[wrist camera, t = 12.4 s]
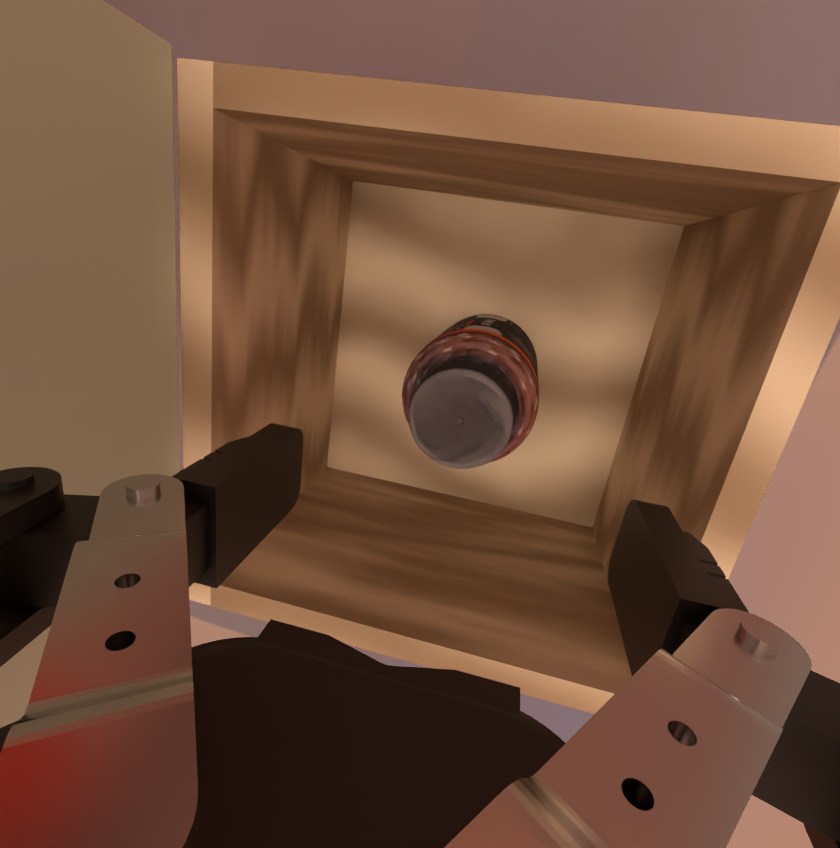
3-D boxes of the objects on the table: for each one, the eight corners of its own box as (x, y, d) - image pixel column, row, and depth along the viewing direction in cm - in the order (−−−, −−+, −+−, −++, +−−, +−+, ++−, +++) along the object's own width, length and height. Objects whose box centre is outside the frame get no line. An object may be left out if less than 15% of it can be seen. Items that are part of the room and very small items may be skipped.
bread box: (341, 158, 28) (176, 57, 15) (710, 205, 25) (917, 134, 12) (314, 473, 34) (185, 598, 21) (604, 540, 31) (662, 733, 18)
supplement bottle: (472, 291, 27) (439, 305, 17) (558, 351, 27) (579, 402, 17) (416, 376, 30) (355, 434, 19) (496, 431, 30) (480, 521, 19)
